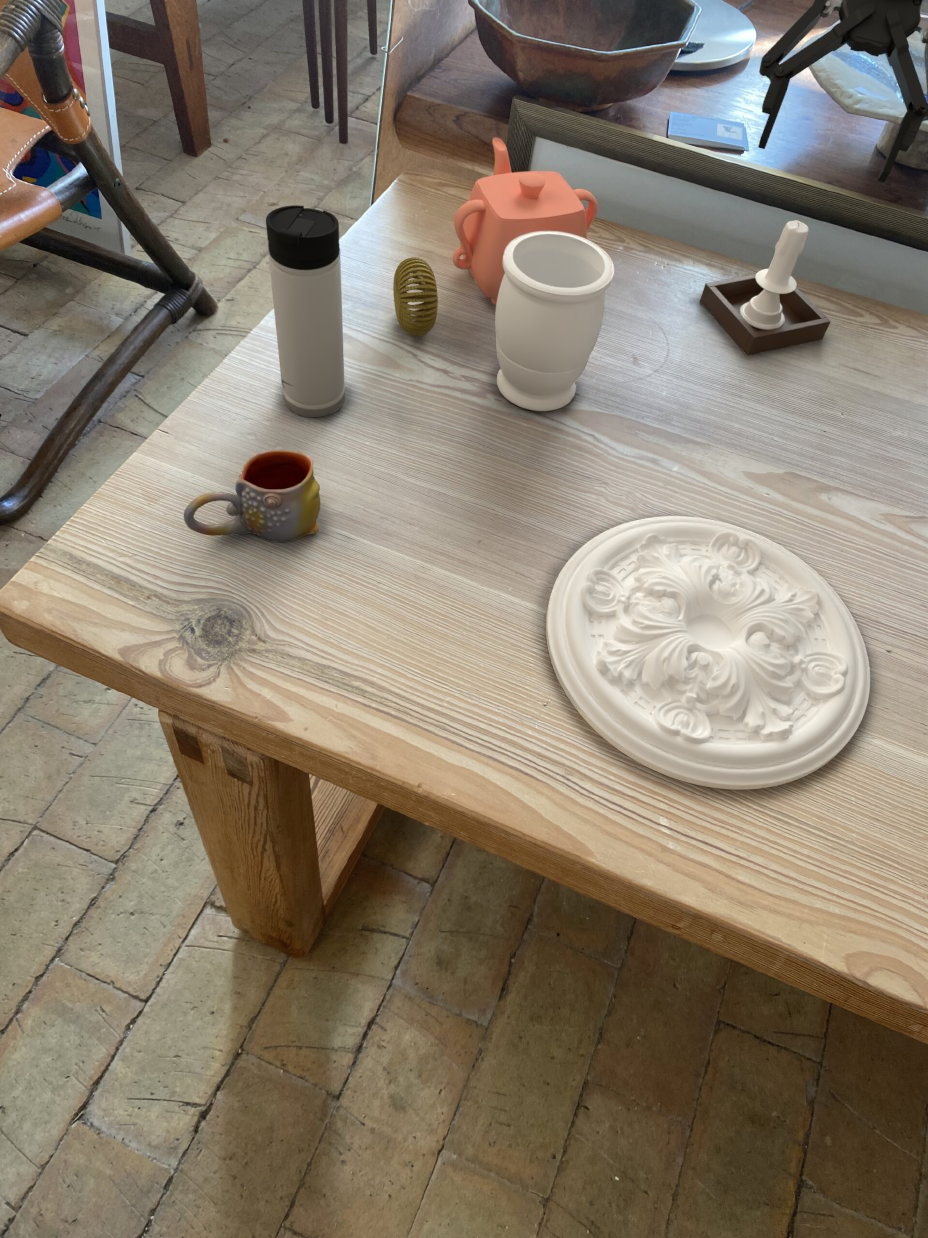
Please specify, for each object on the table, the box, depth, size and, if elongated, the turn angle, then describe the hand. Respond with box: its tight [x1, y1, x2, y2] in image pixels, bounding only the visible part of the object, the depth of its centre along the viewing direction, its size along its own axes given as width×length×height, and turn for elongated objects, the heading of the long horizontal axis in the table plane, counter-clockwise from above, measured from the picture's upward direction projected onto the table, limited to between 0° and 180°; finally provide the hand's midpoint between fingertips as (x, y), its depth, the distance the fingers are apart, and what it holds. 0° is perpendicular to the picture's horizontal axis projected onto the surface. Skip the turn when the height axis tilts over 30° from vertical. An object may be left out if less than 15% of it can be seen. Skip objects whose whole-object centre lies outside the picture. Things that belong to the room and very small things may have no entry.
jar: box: [494, 231, 615, 412], centre depth 91 cm, size 11×10×15 cm
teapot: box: [452, 137, 599, 306], centre depth 103 cm, size 15×17×13 cm
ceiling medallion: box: [545, 515, 871, 791], centre depth 78 cm, size 28×28×3 cm
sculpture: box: [392, 256, 439, 337], centre depth 98 cm, size 8×4×8 cm, turn 13°
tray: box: [699, 273, 832, 357], centre depth 107 cm, size 11×11×2 cm
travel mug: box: [265, 204, 346, 418], centre depth 85 cm, size 6×7×20 cm
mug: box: [183, 449, 321, 543], centre depth 80 cm, size 12×7×7 cm, turn 113°
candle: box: [740, 219, 810, 330], centre depth 102 cm, size 5×5×12 cm
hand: (822, 160), depth 101 cm, fingers open, 13 cm apart
